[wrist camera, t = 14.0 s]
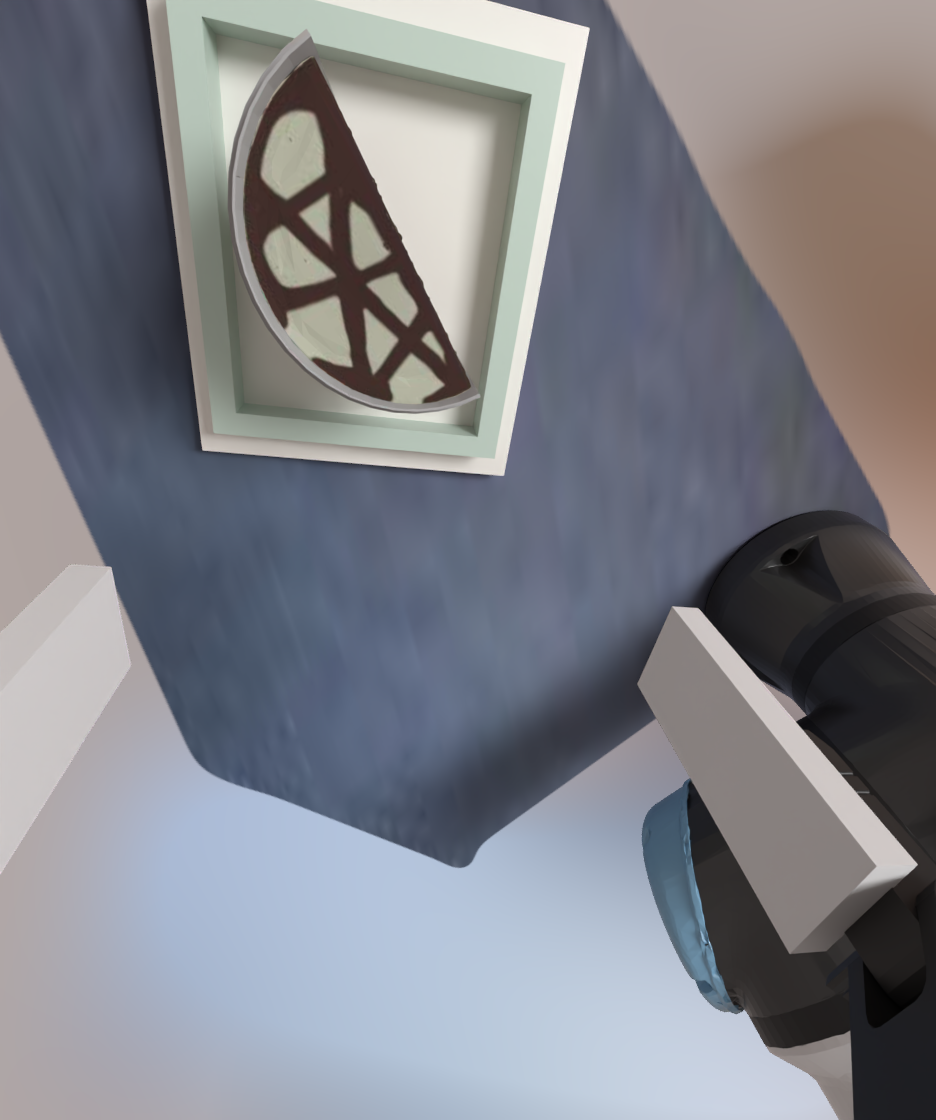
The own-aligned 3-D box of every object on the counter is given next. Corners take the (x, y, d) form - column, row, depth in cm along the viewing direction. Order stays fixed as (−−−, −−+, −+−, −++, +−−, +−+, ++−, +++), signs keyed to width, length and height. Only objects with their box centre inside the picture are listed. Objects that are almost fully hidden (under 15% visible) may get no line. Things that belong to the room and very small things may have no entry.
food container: (213, 169, 23) (116, 129, 15) (329, 94, 22) (297, 6, 14) (361, 410, 30) (353, 478, 21) (456, 358, 29) (486, 407, 21)
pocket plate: (580, 36, 23) (606, 11, 21) (500, 468, 34) (510, 488, 31) (147, -78, 20) (110, -126, 17) (208, 443, 31) (191, 463, 28)
